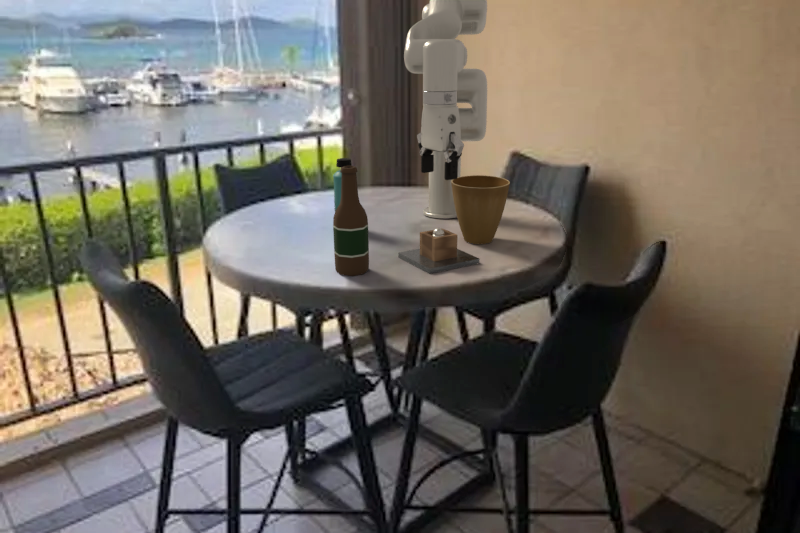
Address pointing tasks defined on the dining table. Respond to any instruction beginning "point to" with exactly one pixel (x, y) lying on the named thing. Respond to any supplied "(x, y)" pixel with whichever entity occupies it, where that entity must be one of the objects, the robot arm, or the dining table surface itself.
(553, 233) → the dining table surface
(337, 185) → the beverage bottle
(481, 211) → the plant pot
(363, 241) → the beer bottle
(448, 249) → the walnut collar
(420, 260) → the post block
